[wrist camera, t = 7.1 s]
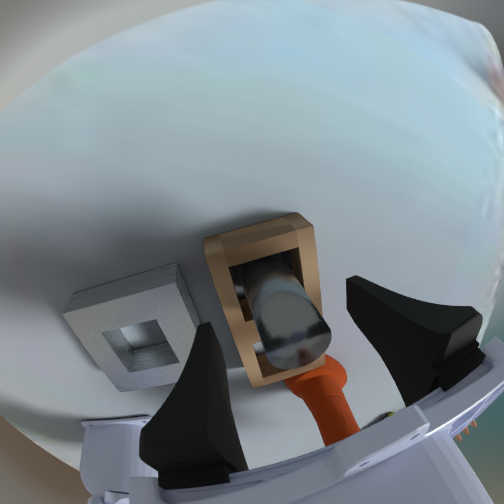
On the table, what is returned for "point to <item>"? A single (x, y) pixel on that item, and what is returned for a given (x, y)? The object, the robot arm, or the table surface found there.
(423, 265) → the table surface
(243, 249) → the rack
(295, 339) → the grey metal cylinder
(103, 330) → the socket block
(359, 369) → the table surface
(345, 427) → the toy drill
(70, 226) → the table surface
